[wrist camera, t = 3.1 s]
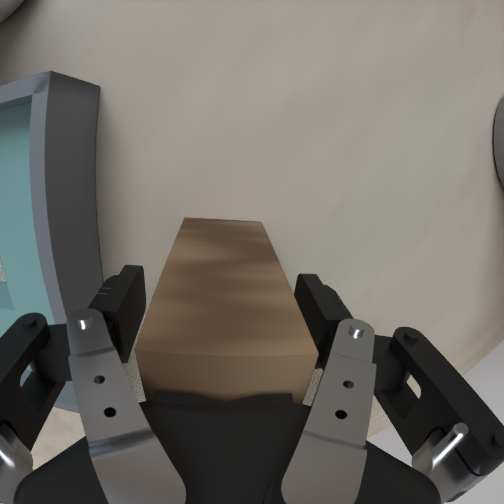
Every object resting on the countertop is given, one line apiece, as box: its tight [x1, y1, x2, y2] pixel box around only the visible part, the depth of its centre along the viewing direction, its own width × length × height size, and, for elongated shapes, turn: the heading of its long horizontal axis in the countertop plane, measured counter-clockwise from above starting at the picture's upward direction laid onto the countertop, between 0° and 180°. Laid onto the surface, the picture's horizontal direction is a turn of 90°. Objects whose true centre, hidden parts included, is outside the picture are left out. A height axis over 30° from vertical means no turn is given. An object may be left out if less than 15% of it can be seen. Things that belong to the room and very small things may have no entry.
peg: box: [135, 218, 319, 404], centre depth 11 cm, size 4×4×10 cm
